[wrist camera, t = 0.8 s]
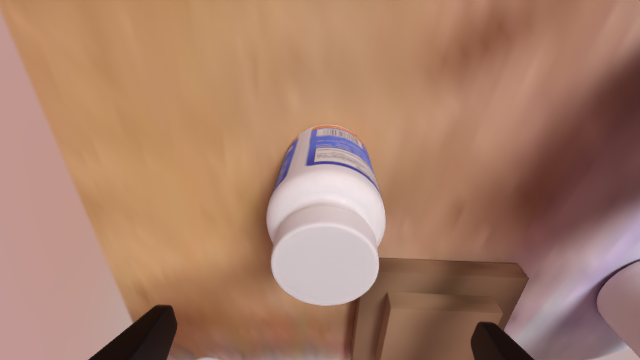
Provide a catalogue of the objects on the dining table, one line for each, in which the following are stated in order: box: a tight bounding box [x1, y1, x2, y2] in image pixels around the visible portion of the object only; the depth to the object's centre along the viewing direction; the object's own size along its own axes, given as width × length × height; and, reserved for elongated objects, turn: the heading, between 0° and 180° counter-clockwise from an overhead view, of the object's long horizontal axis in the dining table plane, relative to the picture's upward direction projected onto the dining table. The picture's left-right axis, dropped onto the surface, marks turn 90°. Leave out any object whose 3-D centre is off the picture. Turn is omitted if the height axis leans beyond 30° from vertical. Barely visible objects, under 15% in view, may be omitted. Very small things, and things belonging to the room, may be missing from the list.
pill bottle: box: [266, 125, 386, 306], centre depth 15 cm, size 5×5×10 cm
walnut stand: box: [351, 258, 529, 360], centre depth 24 cm, size 12×12×3 cm
